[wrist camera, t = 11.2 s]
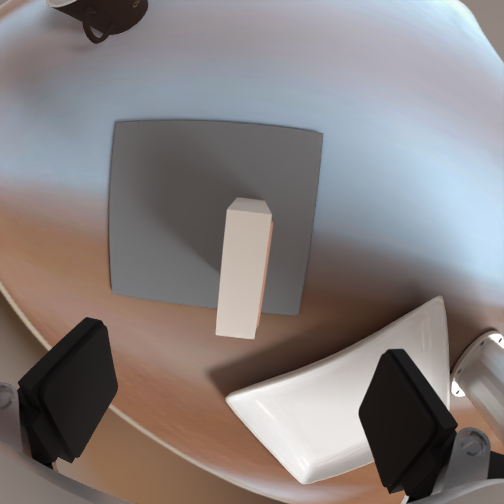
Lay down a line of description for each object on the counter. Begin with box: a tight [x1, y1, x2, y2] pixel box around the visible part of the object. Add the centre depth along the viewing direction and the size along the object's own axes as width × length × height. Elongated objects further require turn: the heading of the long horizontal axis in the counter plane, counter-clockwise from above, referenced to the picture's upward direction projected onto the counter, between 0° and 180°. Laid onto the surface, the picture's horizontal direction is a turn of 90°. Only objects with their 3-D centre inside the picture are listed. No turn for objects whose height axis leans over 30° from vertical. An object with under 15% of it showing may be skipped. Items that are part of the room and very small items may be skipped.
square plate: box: [225, 296, 450, 484], centre depth 31 cm, size 27×27×4 cm
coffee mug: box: [46, 0, 148, 44], centre depth 16 cm, size 12×9×10 cm
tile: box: [216, 197, 273, 339], centre depth 21 cm, size 3×8×10 cm, turn 173°
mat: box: [109, 120, 323, 316], centre depth 26 cm, size 20×18×1 cm
